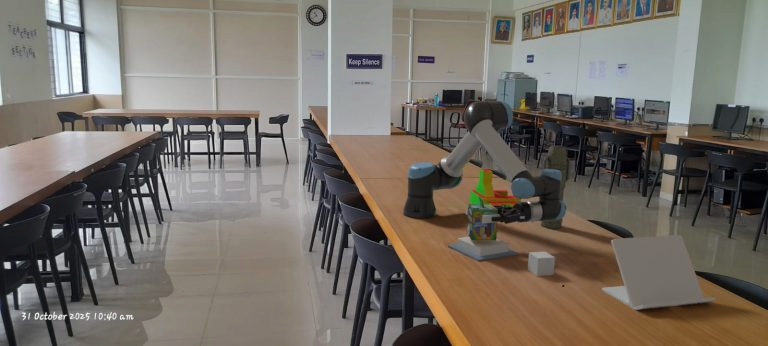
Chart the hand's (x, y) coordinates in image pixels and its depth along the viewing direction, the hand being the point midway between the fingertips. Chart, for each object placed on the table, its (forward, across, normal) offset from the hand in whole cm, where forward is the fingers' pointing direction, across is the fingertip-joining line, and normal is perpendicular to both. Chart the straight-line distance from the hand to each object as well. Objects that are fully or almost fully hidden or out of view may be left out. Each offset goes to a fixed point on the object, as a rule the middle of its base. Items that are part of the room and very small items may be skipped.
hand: (474, 215), depth 197 cm
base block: (-4, 0, -14) cm, 14 cm away
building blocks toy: (-45, +58, -14) cm, 74 cm away
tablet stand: (-32, -53, -14) cm, 64 cm away
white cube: (-12, -25, -14) cm, 31 cm away
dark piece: (-51, +22, -14) cm, 57 cm away
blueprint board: (-4, 0, -14) cm, 14 cm away
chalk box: (-3, 0, -9) cm, 9 cm away
